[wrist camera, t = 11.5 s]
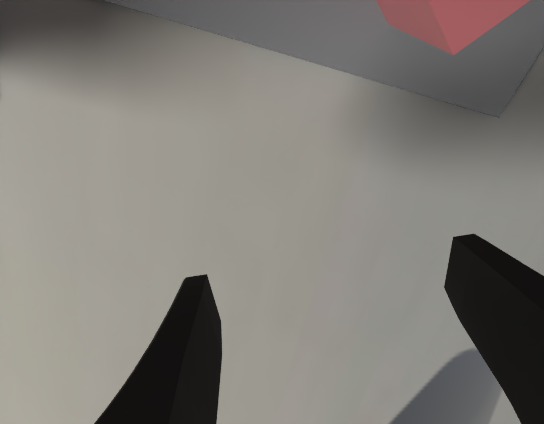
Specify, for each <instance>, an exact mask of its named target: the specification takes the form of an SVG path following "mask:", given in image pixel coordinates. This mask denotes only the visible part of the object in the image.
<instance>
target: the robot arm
mask: <svg viewBox="0 0 544 424" xmlns="http://www.w3.org/2000/svg"><path fill="white" fill-rule="evenodd" d="M444 288H445V290H446V292H447V295H448V297H449V299H450V302H451V304H452V306H453V308H454V310H455V312H456V314H457V316H458V318H459V320H460V322H461V323H462V325H463V327H464V328H465V330H466V332H467V333H468V335H469V336H470V338H471V340H472V341H473V343H474V344H475V346H476V348H477V349H478V351H479V352H480V354H481V355H482V357H483V359H484V360H485V362H486V363H487V365H488V367H489V368H490V370H491V371H492V373H493V374H494V376H495V378H496V379H497V381H498V382H499V384H500V386H501V387H502V389H503V390H504V392H505V394H506V396H507V397H508V399H509V401H510V403H511V404H512V406H513V408H514V410H515V412H516V414H517V416H518V418H519V420H520V422H521V424H544V276H543V275H541V274H539V273H538V272H536V271H534V270H533V269H531V268H529V267H528V266H526V265H524V264H523V263H521V262H520V261H518V260H516V259H515V258H513V257H512V256H510V255H508V254H507V253H505V252H504V251H502V250H500V249H499V248H497V247H495V246H494V245H492V244H491V243H489V242H487V241H486V240H484V239H482V238H481V237H479V236H477V235H475V234H470V235H463V236H456V237H453V241H452V247H451V252H450V258H449V263H448V269H447V275H446V280H445V286H444ZM221 361H222V336H221V320H220V316H219V313H218V310H217V306H216V303H215V300H214V297H213V293H212V290H211V287H210V283H209V280H208V277H207V274H206V275H200V276H193V277H186V278H185V279H184V281H183V283H182V285H181V287H180V289H179V291H178V293H177V295H176V297H175V299H174V301H173V303H172V305H171V307H170V309H169V311H168V313H167V315H166V317H165V318H164V320H163V322H162V324H161V326H160V327H159V329H158V331H157V333H156V334H155V336H154V338H153V340H152V341H151V343H150V345H149V346H148V348H147V350H146V351H145V353H144V354H143V356H142V358H141V359H140V361H139V362H138V364H137V366H136V367H135V369H134V370H133V372H132V373H131V375H130V376H129V378H128V379H127V381H126V382H125V384H124V385H123V386H122V388H121V389H120V391H119V392H118V393H117V395H116V396H115V397H114V399H113V400H112V402H111V403H110V404H109V406H108V407H107V408H106V410H105V411H104V412H103V413H102V415H101V416H100V417H99V418H98V420H97V421H96V422H95V423H94V424H216V420H217V409H218V397H219V385H220V373H221Z"/></svg>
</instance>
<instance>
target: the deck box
mask: <svg viewBox="0 0 544 424" xmlns="http://www.w3.org/2000/svg"><path fill="white" fill-rule="evenodd" d="M529 1H530V0H376V2H377V3H378V5H379V7H380V9H381V11H382V13H383V15H384V16H385V18H386V20H387V22H388V24H389V25H391V26H393V27H395V28H397V29H399V30H402V31H404V32H406V33H408V34H410V35H412V36H414V37H416V38H418V39H421V40H423V41H425V42H427V43H429V44H431V45H433V46H435V47H437V48H439V49H442V50H444V51H446V52H448V53H450V54H452V55H455V54H456V53H457V52H459V51H460V50H462V49H463V48H464V47H466V46H467V45H469V44H470V43H471V42H473V41H474V40H476V39H477V38H478V37H480V36H481V35H483V34H484V33H485V32H487V31H488V30H490V29H491V28H492V27H494V26H495V25H497V24H498V23H499V22H501V21H502V20H504V19H505V18H506V17H508V16H509V15H510V14H512V13H513V12H515V11H516V10H517V9H519V8H520V7H522V6H523V5H524V4H526V3H527V2H529Z"/></svg>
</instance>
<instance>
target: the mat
mask: <svg viewBox="0 0 544 424" xmlns="http://www.w3.org/2000/svg"><path fill="white" fill-rule="evenodd" d="M104 1H107V2H111V3H114V4H117V5H121V6H124V7H128V8H131V9H134V10H138V11H141V12H144V13H148V14H151V15H154V16H158V17H161V18H165V19H168V20H171V21H175V22H178V23H181V24H185V25H188V26H191V27H195V28H198V29H202V30H205V31H208V32H212V33H215V34H218V35H222V36H225V37H229V38H232V39H235V40H239V41H242V42H245V43H249V44H252V45H255V46H259V47H262V48H266V49H269V50H272V51H276V52H279V53H282V54H286V55H289V56H293V57H296V58H299V59H303V60H306V61H309V62H313V63H316V64H319V65H323V66H326V67H330V68H333V69H336V70H340V71H343V72H346V73H350V74H353V75H356V76H360V77H363V78H367V79H370V80H373V81H377V82H380V83H383V84H387V85H390V86H394V87H397V88H400V89H404V90H407V91H410V92H414V93H417V94H420V95H424V96H427V97H431V98H434V99H437V100H441V101H444V102H447V103H451V104H454V105H458V106H461V107H464V108H468V109H471V110H474V111H478V112H481V113H484V114H488V115H491V116H495V117H498V118H499V117H500V115H501V113H502V112H503V110H504V109H505V107H506V106H507V104H508V102H509V101H510V99H511V98H512V96H513V94H514V93H515V91H516V90H517V88H518V86H519V85H520V83H521V82H522V80H523V78H524V77H525V75H526V74H527V72H528V70H529V69H530V67H531V66H532V64H533V62H534V61H535V59H536V58H537V56H538V54H539V53H540V51H541V50H542V48H543V46H544V0H530V1H529V2H527V3H526V4H524V5H523V6H522V7H520V8H519V9H517V10H516V11H515V12H513V13H512V14H510V15H509V16H508V17H506V18H505V19H504V20H502V21H501V22H499V23H498V24H497V25H495V26H494V27H492V28H491V29H490V30H488V31H487V32H485V33H484V34H483V35H481V36H480V37H478V38H477V39H476V40H474V41H473V42H471V43H470V44H469V45H467V46H466V47H464V48H463V49H462V50H460V51H459V52H457V53H456V54H455V55H452V54H450V53H448V52H446V51H444V50H442V49H439V48H437V47H435V46H433V45H431V44H429V43H427V42H425V41H423V40H421V39H418V38H416V37H414V36H412V35H410V34H408V33H406V32H404V31H402V30H399V29H397V28H395V27H393V26H391V25H389V24H388V22H387V20H386V18H385V16H384V15H383V13H382V11H381V9H380V7H379V5H378V3H377V2H376V0H104Z"/></svg>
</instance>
